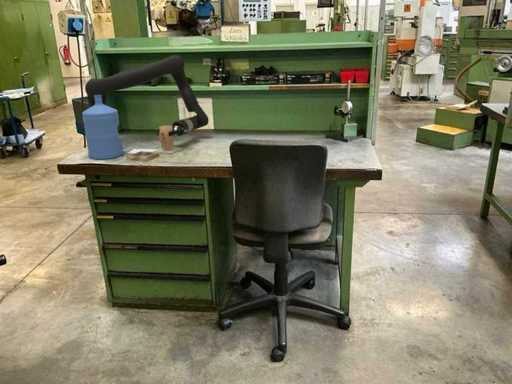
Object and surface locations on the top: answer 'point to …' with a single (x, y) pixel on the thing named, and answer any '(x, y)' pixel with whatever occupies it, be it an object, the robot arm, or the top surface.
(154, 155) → the wooden frame
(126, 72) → the robot arm
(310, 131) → the top surface
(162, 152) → the mat
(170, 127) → the pillar candle
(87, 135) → the water jug
